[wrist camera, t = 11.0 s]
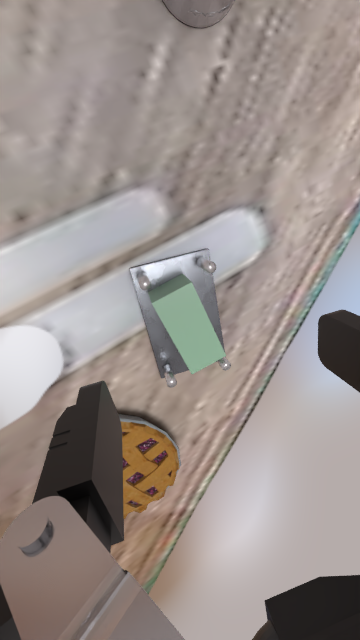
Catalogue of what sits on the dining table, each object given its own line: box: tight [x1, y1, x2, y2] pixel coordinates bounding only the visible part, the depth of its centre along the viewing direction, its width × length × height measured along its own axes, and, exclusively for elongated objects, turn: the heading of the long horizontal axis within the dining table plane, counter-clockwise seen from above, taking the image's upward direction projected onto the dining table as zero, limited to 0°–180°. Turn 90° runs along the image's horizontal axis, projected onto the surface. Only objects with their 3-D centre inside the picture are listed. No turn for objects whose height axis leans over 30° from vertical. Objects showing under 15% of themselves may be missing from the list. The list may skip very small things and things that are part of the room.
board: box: [148, 274, 226, 374], centre depth 36 cm, size 12×6×5 cm, turn 25°
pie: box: [118, 414, 181, 519], centre depth 45 cm, size 22×22×5 cm
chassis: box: [130, 249, 231, 387], centre depth 37 cm, size 18×11×5 cm, turn 12°
